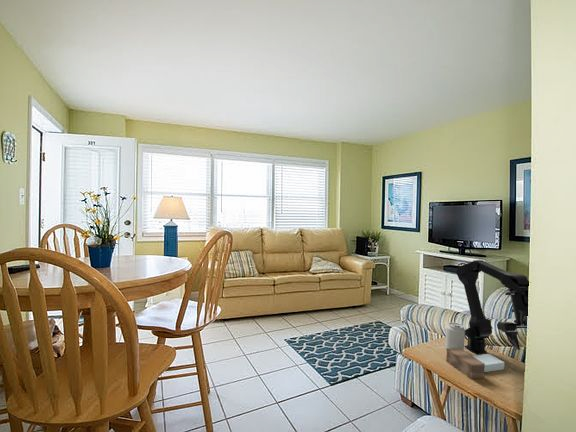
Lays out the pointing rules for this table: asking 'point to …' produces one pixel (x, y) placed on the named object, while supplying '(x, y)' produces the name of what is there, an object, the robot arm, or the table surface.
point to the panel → (490, 362)
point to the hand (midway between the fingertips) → (531, 349)
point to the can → (455, 336)
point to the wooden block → (465, 363)
